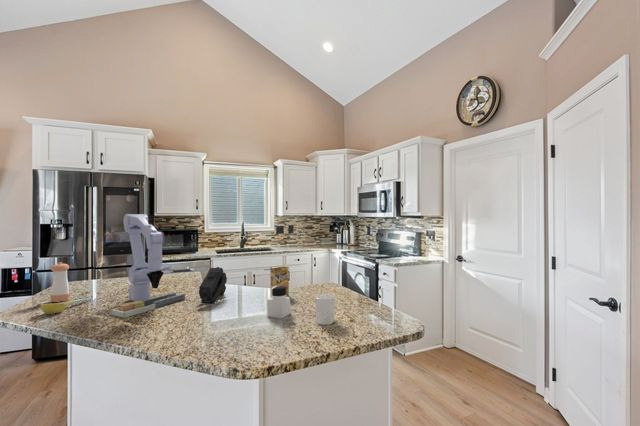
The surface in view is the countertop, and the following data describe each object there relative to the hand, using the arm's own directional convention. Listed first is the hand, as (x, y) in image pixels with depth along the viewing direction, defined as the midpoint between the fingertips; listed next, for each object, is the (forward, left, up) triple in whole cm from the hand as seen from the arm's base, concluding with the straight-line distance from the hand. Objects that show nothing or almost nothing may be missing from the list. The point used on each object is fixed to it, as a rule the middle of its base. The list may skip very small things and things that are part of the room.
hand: (155, 287), depth 140 cm
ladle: (-36, -17, -9) cm, 41 cm away
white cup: (+79, +16, -9) cm, 81 cm away
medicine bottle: (+58, +15, -9) cm, 61 cm away
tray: (0, -10, -9) cm, 13 cm away
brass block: (0, -9, -8) cm, 12 cm away
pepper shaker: (-54, -13, -9) cm, 56 cm away
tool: (+16, +20, -9) cm, 27 cm away
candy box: (+41, +41, -9) cm, 59 cm away
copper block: (-1, -13, -8) cm, 15 cm away
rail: (0, +5, -9) cm, 10 cm away
